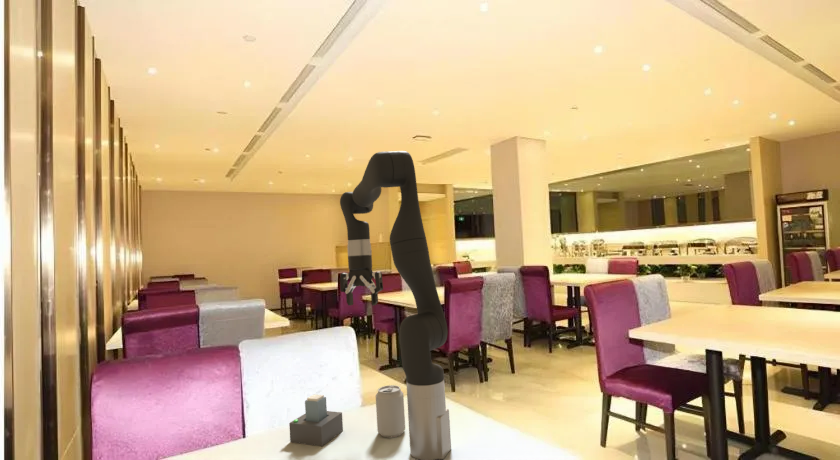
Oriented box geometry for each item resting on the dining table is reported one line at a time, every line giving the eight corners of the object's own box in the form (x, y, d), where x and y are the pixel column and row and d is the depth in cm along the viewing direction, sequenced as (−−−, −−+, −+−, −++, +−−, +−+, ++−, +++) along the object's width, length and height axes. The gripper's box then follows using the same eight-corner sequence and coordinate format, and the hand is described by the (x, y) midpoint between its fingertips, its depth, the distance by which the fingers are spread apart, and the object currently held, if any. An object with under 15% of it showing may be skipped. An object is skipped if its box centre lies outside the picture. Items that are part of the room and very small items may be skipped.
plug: (327, 430, 124) (325, 394, 125) (319, 436, 121) (317, 399, 121) (315, 428, 126) (313, 393, 126) (306, 434, 122) (304, 398, 122)
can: (372, 436, 121) (369, 390, 121) (387, 425, 127) (384, 382, 128) (396, 440, 117) (393, 393, 118) (410, 429, 124) (408, 385, 124)
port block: (342, 430, 126) (341, 411, 126) (322, 446, 117) (321, 424, 117) (312, 427, 130) (311, 408, 130) (290, 442, 120) (289, 421, 120)
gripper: (334, 255, 144) (336, 307, 144) (373, 253, 139) (376, 306, 138) (346, 254, 151) (349, 303, 151) (384, 252, 146) (387, 303, 145)
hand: (362, 305), depth 144 cm, fingers open, 8 cm apart
